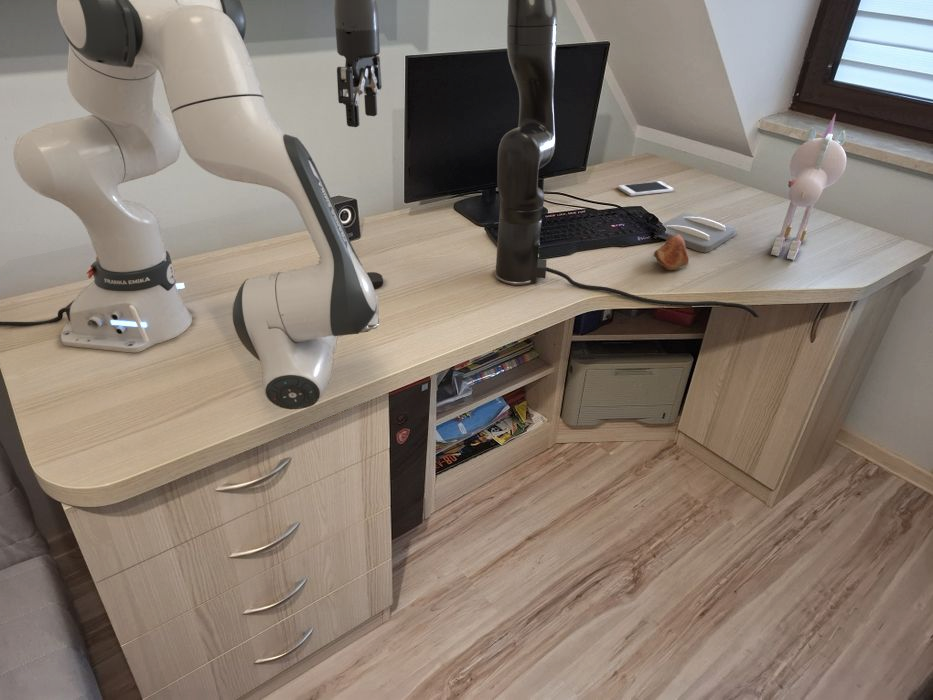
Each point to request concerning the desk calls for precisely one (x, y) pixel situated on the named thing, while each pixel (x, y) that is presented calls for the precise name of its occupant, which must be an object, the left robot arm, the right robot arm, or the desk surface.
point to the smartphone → (645, 188)
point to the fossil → (672, 253)
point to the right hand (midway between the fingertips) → (362, 120)
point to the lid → (375, 279)
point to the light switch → (698, 231)
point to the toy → (811, 180)
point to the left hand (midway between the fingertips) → (320, 286)
